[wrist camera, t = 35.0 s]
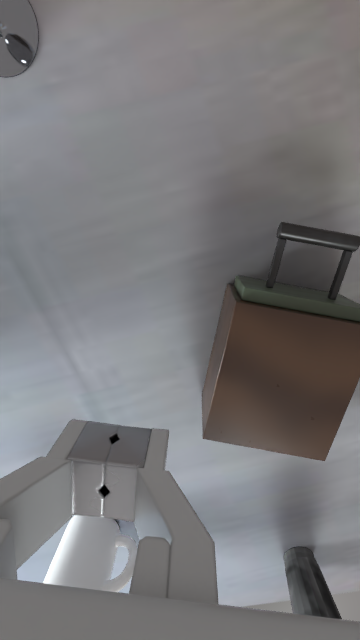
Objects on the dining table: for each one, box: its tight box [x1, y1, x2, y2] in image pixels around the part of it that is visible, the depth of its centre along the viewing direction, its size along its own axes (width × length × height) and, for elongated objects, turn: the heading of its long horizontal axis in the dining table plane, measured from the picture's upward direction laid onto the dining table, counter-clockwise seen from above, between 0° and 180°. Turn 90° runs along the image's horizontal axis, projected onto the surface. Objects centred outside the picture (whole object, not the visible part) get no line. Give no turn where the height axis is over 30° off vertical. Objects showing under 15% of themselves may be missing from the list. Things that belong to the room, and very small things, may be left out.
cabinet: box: [202, 284, 360, 461], centre depth 31 cm, size 15×13×8 cm
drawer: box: [234, 222, 360, 322], centre depth 30 cm, size 19×11×6 cm, turn 170°
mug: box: [43, 515, 138, 592], centre depth 41 cm, size 12×8×10 cm
